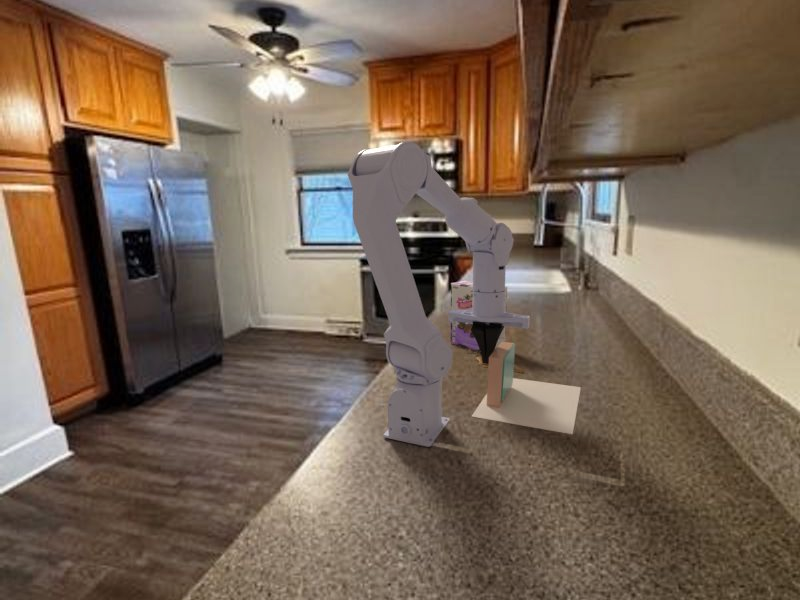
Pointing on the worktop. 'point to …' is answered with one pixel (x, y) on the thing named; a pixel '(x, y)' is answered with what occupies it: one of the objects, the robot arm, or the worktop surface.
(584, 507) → the worktop surface
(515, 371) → the shard
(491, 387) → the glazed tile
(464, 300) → the candy box
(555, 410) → the cutting board
